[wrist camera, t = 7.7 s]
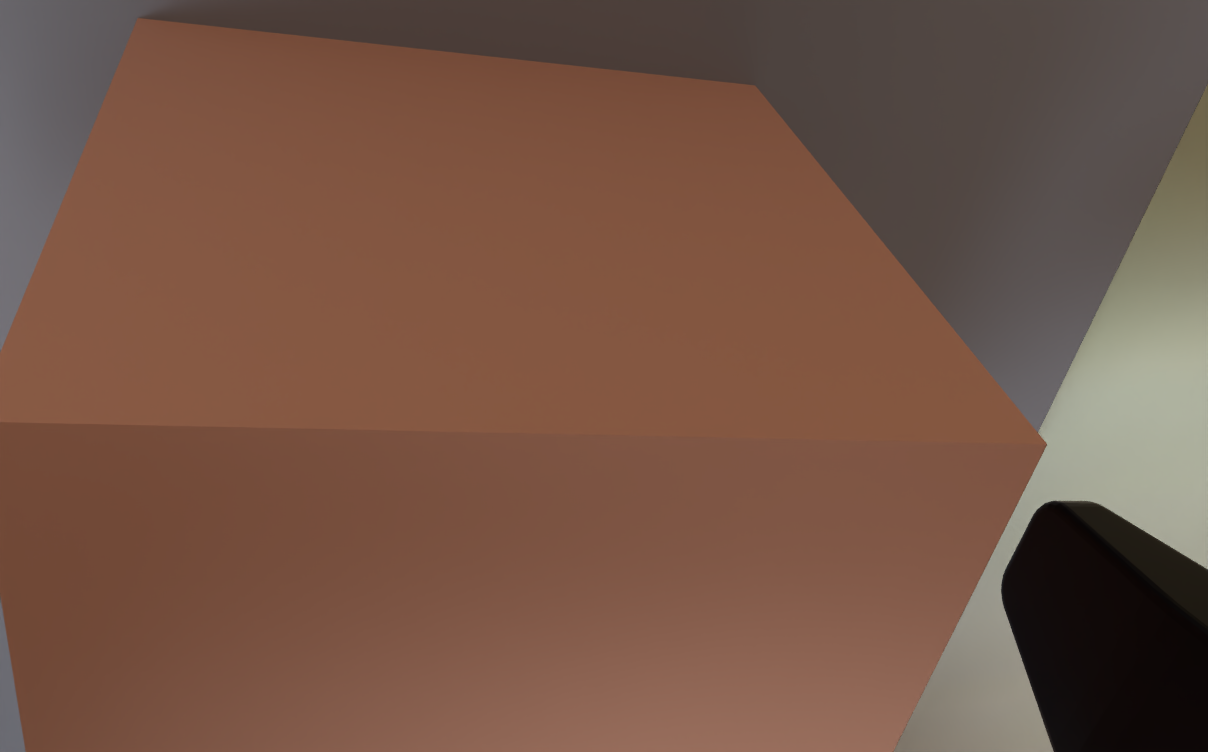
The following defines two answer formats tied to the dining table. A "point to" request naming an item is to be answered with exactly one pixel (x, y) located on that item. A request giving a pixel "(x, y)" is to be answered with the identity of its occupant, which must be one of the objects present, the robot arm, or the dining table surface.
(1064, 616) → the robot arm
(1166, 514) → the dining table surface
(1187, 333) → the dining table surface
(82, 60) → the slate plate
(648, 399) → the terracotta block
